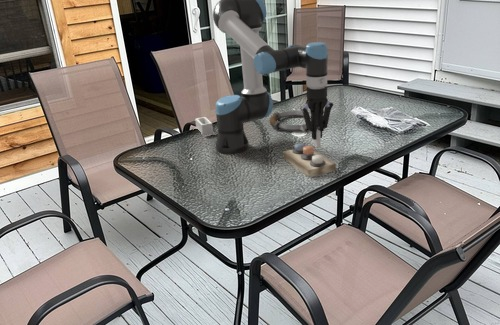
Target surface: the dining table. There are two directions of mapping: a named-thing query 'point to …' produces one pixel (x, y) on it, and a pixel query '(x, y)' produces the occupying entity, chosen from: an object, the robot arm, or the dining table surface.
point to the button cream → (317, 159)
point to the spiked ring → (279, 125)
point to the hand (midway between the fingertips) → (317, 146)
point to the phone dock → (204, 126)
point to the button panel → (309, 163)
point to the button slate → (299, 146)
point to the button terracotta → (308, 150)
